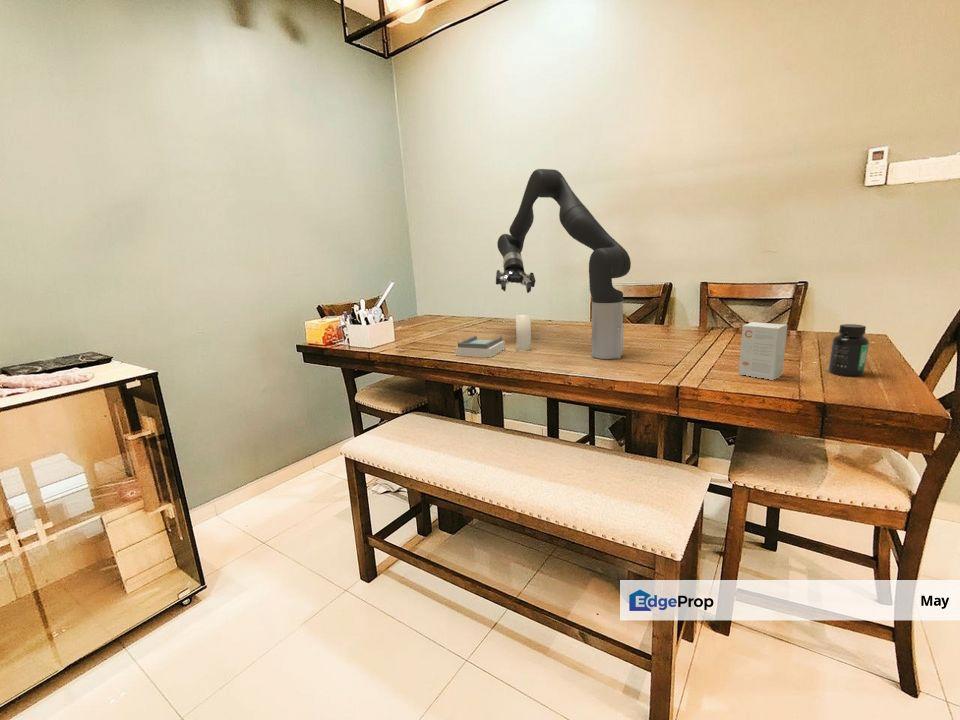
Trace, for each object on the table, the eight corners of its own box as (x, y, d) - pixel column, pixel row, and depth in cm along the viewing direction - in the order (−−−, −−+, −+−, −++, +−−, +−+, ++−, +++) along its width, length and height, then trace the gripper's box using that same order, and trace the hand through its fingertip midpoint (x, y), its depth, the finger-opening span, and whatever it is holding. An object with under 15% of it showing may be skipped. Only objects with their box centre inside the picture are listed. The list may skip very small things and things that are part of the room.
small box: (782, 375, 110) (788, 324, 107) (773, 381, 107) (779, 328, 103) (747, 370, 117) (752, 321, 113) (737, 375, 113) (742, 325, 110)
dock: (505, 349, 156) (504, 337, 155) (490, 357, 145) (489, 344, 144) (472, 347, 162) (471, 335, 161) (455, 355, 150) (454, 343, 149)
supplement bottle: (869, 377, 105) (878, 328, 103) (836, 376, 107) (843, 328, 104) (854, 369, 112) (862, 323, 109) (823, 369, 114) (829, 323, 111)
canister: (533, 347, 156) (532, 314, 153) (528, 351, 151) (527, 316, 149) (519, 347, 158) (518, 314, 155) (514, 350, 154) (513, 316, 151)
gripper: (496, 255, 164) (498, 279, 152) (533, 258, 165) (538, 282, 154) (493, 272, 169) (495, 297, 158) (530, 275, 170) (534, 300, 159)
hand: (516, 290), depth 156 cm, fingers open, 8 cm apart
